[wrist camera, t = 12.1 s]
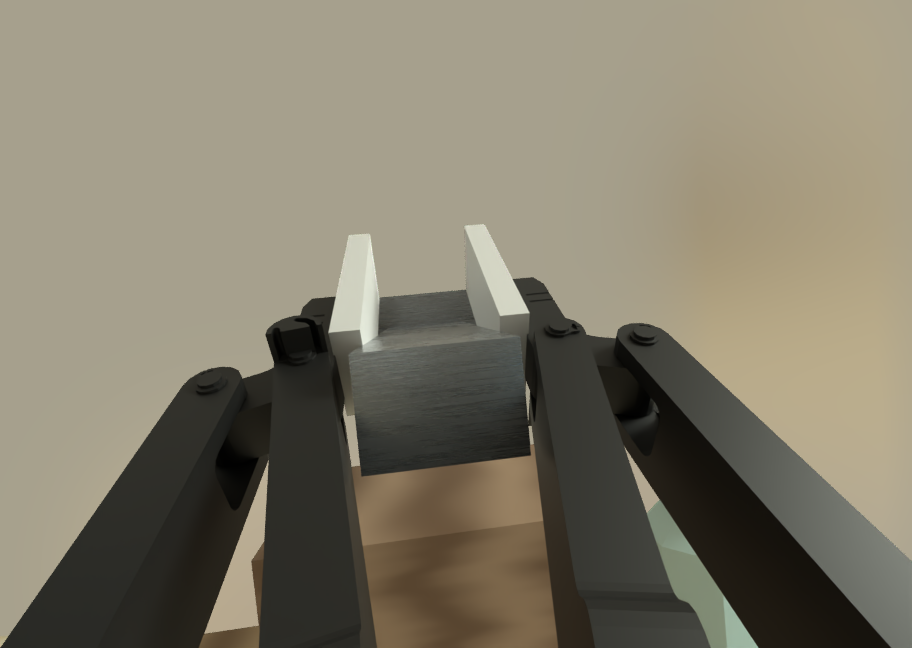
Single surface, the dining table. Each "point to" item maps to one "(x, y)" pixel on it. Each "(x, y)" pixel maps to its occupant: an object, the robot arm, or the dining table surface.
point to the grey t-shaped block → (437, 388)
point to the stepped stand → (447, 559)
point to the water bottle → (696, 584)
